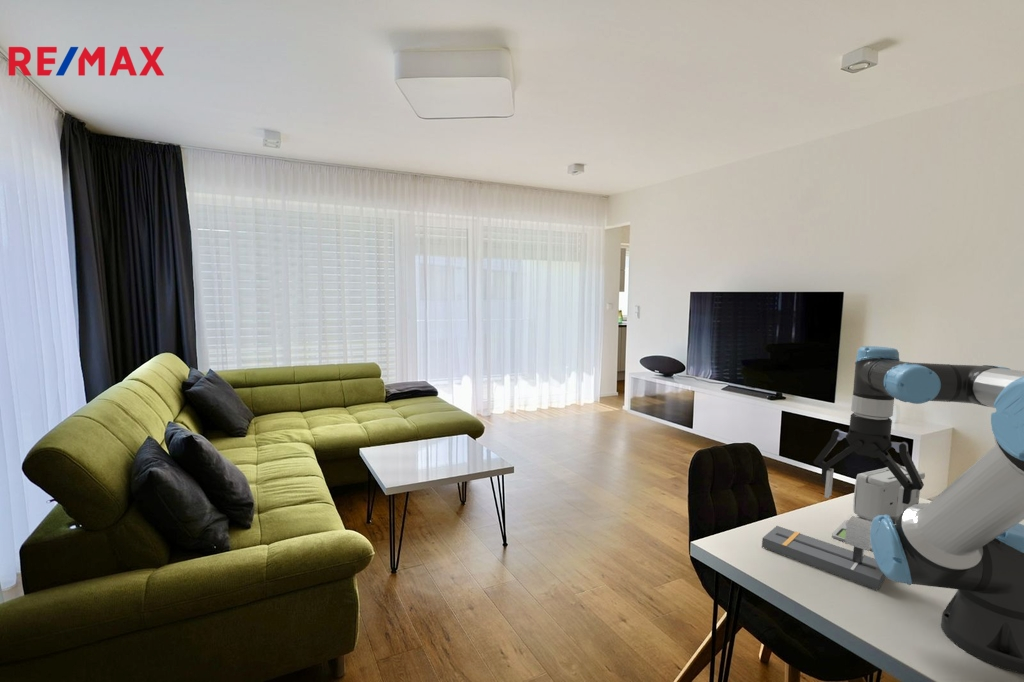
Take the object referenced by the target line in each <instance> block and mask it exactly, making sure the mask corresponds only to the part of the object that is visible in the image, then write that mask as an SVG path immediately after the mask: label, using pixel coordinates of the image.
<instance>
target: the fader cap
mask: <svg viewBox="0 0 1024 682" xmlns="http://www.w3.org/2000/svg"><path fill="white" fill-rule="evenodd" d="M847 520H848V522H847V526H846V536H845V542H844V544H846V545H848V546H849V545H850V546H852V547H853V550H852V551H853V561H855V562H858V563H862V561H863V554H864V551H868V552H869V550H870V548H871V547H872V546H871V537H870V528H871V523H872V521H869V520H866V519H864V518H860V517H858V516H857V517H856V516H854V515H853V516H851V517H850V518H849V519H847Z"/></svg>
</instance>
